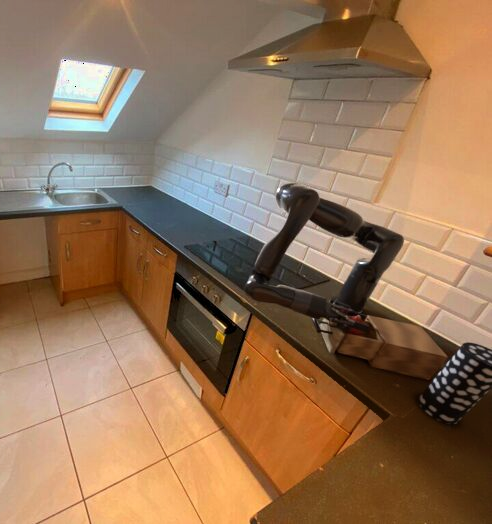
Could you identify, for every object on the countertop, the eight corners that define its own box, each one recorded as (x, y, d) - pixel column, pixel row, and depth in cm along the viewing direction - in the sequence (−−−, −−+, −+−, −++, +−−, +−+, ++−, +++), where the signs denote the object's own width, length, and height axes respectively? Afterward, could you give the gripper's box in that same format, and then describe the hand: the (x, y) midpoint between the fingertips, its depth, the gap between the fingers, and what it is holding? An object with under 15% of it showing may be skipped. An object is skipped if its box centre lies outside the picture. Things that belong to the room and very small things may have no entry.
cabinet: (371, 366, 91) (386, 343, 87) (354, 336, 103) (367, 315, 98) (428, 380, 88) (447, 356, 84) (405, 348, 100) (421, 326, 96)
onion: (339, 326, 99) (350, 307, 95) (359, 335, 96) (371, 315, 92) (336, 334, 95) (347, 315, 91) (357, 344, 92) (369, 324, 88)
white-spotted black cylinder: (428, 392, 84) (473, 339, 75) (464, 419, 78) (519, 364, 68) (410, 400, 81) (455, 345, 72) (446, 428, 75) (500, 373, 65)
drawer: (313, 349, 94) (323, 330, 90) (304, 324, 105) (313, 306, 101) (380, 365, 91) (393, 346, 87) (364, 337, 101) (375, 320, 98)
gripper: (310, 305, 91) (375, 327, 84) (311, 284, 102) (369, 302, 96) (301, 324, 94) (363, 346, 88) (303, 302, 106) (358, 320, 99)
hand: (366, 323), depth 92 cm, fingers closed on onion, 5 cm apart
